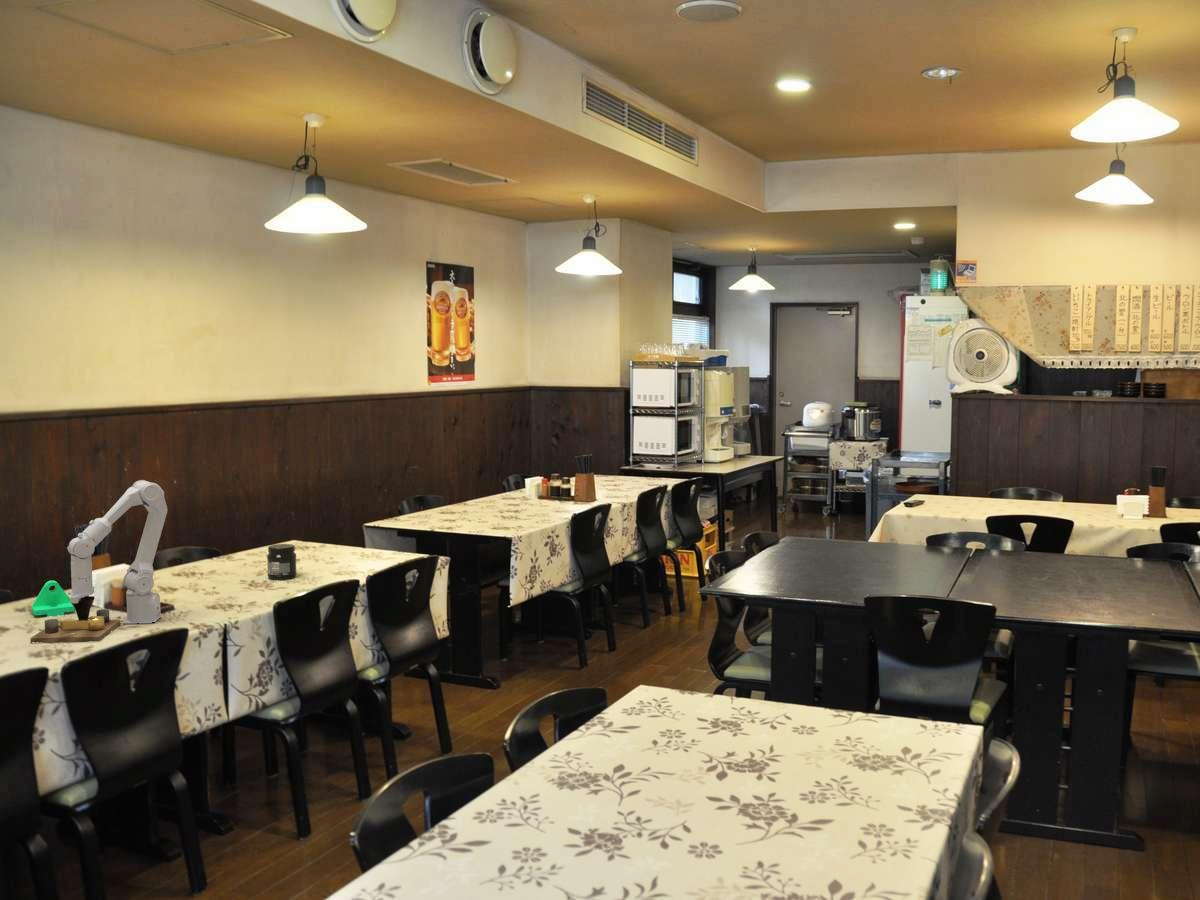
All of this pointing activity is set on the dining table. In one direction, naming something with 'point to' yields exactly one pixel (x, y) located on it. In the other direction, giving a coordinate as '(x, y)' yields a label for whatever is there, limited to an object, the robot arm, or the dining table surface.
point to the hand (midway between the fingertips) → (83, 621)
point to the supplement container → (281, 562)
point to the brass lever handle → (84, 623)
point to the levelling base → (75, 631)
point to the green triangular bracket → (52, 601)
